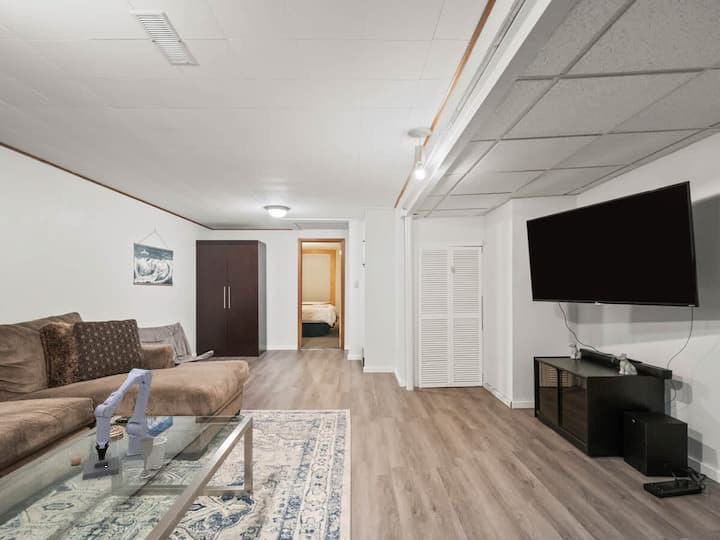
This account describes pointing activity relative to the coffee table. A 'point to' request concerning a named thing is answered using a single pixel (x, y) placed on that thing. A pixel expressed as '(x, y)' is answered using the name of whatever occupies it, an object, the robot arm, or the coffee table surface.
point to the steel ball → (101, 460)
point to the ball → (76, 460)
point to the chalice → (145, 451)
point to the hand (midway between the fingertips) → (101, 457)
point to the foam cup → (157, 453)
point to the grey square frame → (100, 468)
